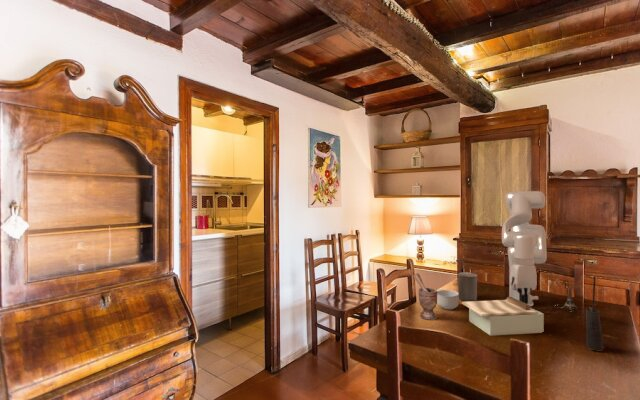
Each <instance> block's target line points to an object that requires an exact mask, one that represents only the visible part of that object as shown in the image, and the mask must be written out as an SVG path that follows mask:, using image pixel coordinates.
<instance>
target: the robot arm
mask: <svg viewBox="0 0 640 400" xmlns="http://www.w3.org/2000/svg"><path fill="white" fill-rule="evenodd" d="M545 196H546V195H545V194H544V193H543V192H542V191H541V190H540V191H539V190H536V191H534V190H532V191H531V190H528V191H527V190H521V191H520V190H517V191H510V192H507V193H506V194H505V195H504V202H505V205H506V206H505V207H506V208H507V211H508V213H509V217H508V218H507V219H506V220H504V222H503V224H502V227H501V242H502V245H503V246H504V247H506V248H507V256H508V264H509V265H508V267H509V272H508V273H509V279H508V281H509V283H508V284H509V287H508V288H509V289H508V290H509V292H508V293H509V294H508V295H509V296H508V297H513V298H515V299H517V300H519V301H522V302H524V303H526V304H528V305H530V307H533V306H534V300H535V301H537V300H539V296H538V295H531V292H532V291H533V290H534V291H535V290H536V289H537V284H538V279H537V278H538V277H537V276H538V275H537V270H536V265H535V264H539V265H540V264H545V263H546V262H547V256H548V255H547V252H548V251H547V235H546V234H547V233H546V229H545V228H544V226H543V225H540V224H530V223H529V222H530V221H531V220H532V219H533V211H532V209H543V208H544V207H545V205H546V197H545ZM505 300H507V298H505Z"/></svg>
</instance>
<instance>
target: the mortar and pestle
mask: <svg viewBox="0 0 640 400" xmlns="http://www.w3.org/2000/svg"><path fill="white" fill-rule="evenodd" d="M413 277H414V280H415V281H416V282H417V284H418V286H419V287H420V288H418V301H419V302H418V303H419V305H420V307H422V311H421V312H420V318H421V319H424V320H430V321H435V320H436V319H437V315H436V313H435V312H434V309H436V307H437V305H438V303H437V291H438V290H437V289H435V288H432V287H426V286H425V284H424V282H423V279H422V278H421V276H420V274H419V273H418V272H417V273H415V274H413Z"/></svg>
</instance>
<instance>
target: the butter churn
mask: <svg viewBox="0 0 640 400" xmlns="http://www.w3.org/2000/svg"><path fill="white" fill-rule="evenodd" d="M592 282H593V283H592V284H593V285H592V307H591V306H589V307H588V308H586V309H585V330H586V332H585V333H586V334H585V337H586V340H585V341H586V345H587V347H589V348H591V349H595V350H603V349H604V350H605V347H604V340H603V339H604V338H603V333H602V323H601V316H600V310H597V309H595V297H596V296H595V294H596V292H595V291H596V276H595V275H593V281H592ZM587 347H586V348H587Z"/></svg>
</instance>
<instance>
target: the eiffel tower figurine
mask: <svg viewBox="0 0 640 400" xmlns="http://www.w3.org/2000/svg"><path fill="white" fill-rule="evenodd" d="M556 305H557V306H558V305H559V304H555V305H554V307H555V306H556ZM563 305H564V306H563V307H561V309H562V308H564V307H565V306H567V307H569V309H570V310H572V308H573V309H578V308H577V306H576V305H575V303H574V302H573V298H572V290H571V285H569V286H568V294H567V300H566V302H564V304H563Z"/></svg>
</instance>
